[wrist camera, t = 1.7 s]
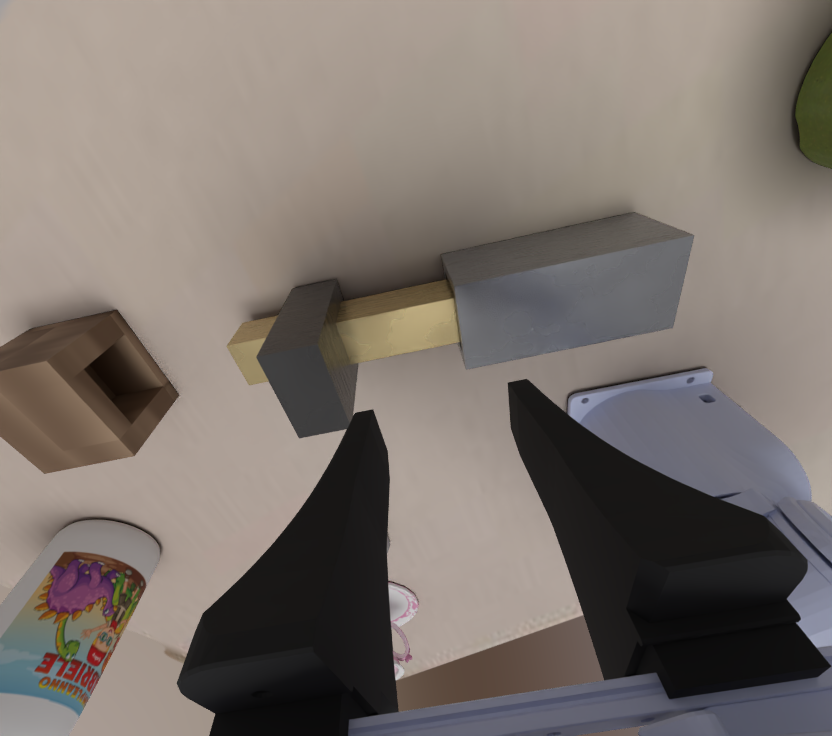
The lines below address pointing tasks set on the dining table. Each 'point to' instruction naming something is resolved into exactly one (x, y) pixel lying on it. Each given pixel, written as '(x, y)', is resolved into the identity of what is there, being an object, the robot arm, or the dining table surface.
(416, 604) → the teacup
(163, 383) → the socket
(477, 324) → the sleeve
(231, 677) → the robot arm
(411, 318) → the grey-banded wooden bar
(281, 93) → the dining table surface
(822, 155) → the plant pot
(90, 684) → the milk bottle
